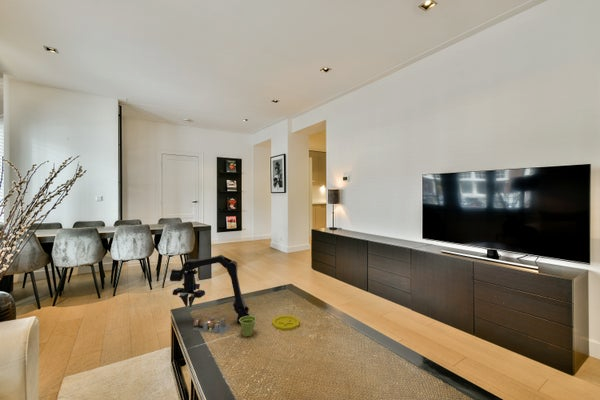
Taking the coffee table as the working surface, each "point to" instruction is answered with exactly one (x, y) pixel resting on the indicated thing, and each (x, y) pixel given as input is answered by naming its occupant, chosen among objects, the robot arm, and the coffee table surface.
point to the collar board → (221, 329)
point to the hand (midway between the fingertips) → (188, 306)
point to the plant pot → (247, 325)
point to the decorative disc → (285, 322)
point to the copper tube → (200, 323)
